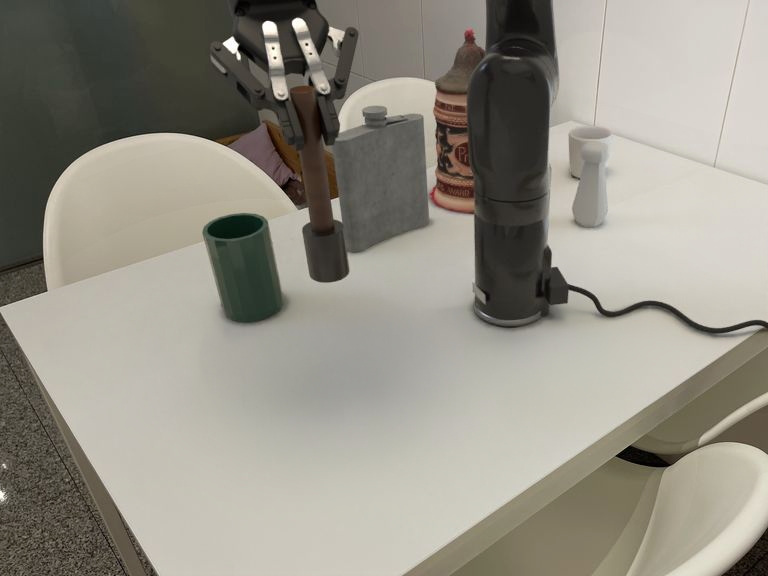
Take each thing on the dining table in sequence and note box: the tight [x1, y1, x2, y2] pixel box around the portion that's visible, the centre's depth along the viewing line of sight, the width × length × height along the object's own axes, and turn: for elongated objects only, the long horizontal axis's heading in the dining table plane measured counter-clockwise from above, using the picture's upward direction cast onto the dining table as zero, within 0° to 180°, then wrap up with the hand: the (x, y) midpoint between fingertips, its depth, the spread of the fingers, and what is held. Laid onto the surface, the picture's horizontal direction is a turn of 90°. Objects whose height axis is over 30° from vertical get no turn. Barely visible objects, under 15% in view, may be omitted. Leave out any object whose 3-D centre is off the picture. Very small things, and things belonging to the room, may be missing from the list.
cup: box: [567, 125, 614, 179], centre depth 128 cm, size 11×8×8 cm
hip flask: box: [331, 105, 430, 253], centre depth 107 cm, size 16×4×20 cm, turn 132°
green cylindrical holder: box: [201, 212, 285, 323], centre depth 92 cm, size 8×8×12 cm
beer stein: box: [428, 29, 485, 214], centre depth 117 cm, size 17×28×18 cm
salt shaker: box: [571, 142, 610, 228], centre depth 111 cm, size 6×6×13 cm
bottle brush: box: [289, 85, 350, 284], centre depth 65 cm, size 4×4×18 cm
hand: (315, 143), depth 61 cm, fingers closed on bottle brush, 2 cm apart
